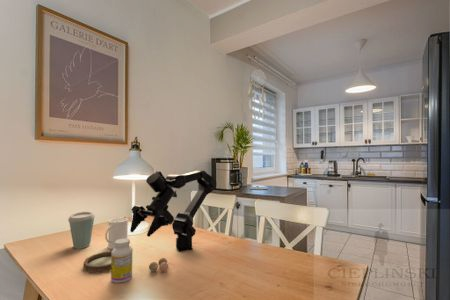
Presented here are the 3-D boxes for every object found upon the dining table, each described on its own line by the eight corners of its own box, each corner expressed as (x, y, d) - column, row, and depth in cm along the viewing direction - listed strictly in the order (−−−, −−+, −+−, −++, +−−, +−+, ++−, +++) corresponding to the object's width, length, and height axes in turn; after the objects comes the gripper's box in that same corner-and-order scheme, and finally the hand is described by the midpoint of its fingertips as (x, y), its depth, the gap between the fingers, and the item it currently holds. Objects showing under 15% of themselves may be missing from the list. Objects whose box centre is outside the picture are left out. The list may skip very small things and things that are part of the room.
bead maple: (157, 268, 88) (157, 259, 88) (158, 272, 85) (158, 263, 85) (148, 269, 87) (148, 261, 87) (148, 273, 84) (149, 264, 84)
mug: (111, 253, 102) (111, 225, 102) (97, 250, 105) (97, 223, 106) (131, 244, 113) (132, 218, 113) (118, 241, 116) (118, 217, 117)
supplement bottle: (115, 274, 84) (116, 237, 84) (134, 273, 84) (135, 237, 85) (107, 284, 77) (108, 244, 78) (128, 283, 78) (129, 243, 78)
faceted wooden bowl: (125, 254, 100) (125, 249, 101) (123, 269, 87) (123, 263, 87) (88, 259, 96) (88, 253, 96) (79, 275, 83) (79, 269, 83)
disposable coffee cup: (92, 248, 107) (93, 215, 107) (64, 252, 103) (65, 217, 103) (95, 241, 117) (96, 210, 117) (70, 243, 113) (71, 212, 113)
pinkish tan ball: (167, 268, 88) (167, 260, 88) (168, 272, 85) (168, 263, 85) (158, 270, 87) (158, 261, 87) (159, 274, 84) (159, 265, 84)
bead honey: (166, 264, 92) (166, 256, 92) (167, 267, 89) (167, 259, 89) (158, 265, 91) (158, 257, 91) (158, 269, 88) (158, 260, 88)
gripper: (188, 213, 97) (168, 249, 87) (156, 208, 106) (135, 240, 97) (175, 197, 90) (152, 234, 80) (142, 192, 100) (118, 225, 90)
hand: (139, 233), depth 87 cm, fingers open, 9 cm apart
